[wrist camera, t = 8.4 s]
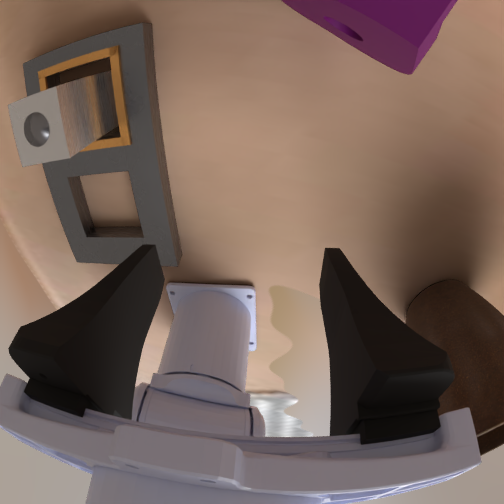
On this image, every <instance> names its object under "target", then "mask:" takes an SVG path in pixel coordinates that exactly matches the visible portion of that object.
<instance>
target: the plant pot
mask: <svg viewBox="0 0 504 504" xmlns="http://www.w3.org/2000/svg"><path fill="white" fill-rule="evenodd" d="M406 325H407V326H408V327H410V328H411V329H412V330H414V331H415V332H416V333H418V334H419V335H421V336H422V337H423V338H425V339H426V340H428V341H429V342H431V343H433V344H434V345H436V346H438V347H439V348H441V349H443V350H444V351H446V352H447V354H448V356H449V358H450V361H451V364H452V367H453V371H454V374H455V377H454V380H453V382H452V383H451V385H450V386H449V387H448V388H447V390H446V391H445V392H444V393H443V394H442V395H441V396H440V397H439V402H440V408H439V409H437V411H438V416H440V415H442V414H444V413H447V412H451V411H455V410H459V409H463V408H467V407H468V408H470V412H471V416H472V420H473V424H474V428H475V432H476V437H477V441H478V446H479V451H480V456H481V455H483V454H485V453H487V452H489V451H492V450H493V449H495V448H497V447H499V446H501V445H503V444H504V316H503V315H502V314H501V313H500V312H499V311H498V310H497V309H496V308H495V307H494V306H493V305H491V304H490V303H489V302H488V301H487V300H485V299H484V298H483V297H482V296H480V295H479V294H478V293H476V292H475V291H474V290H472V289H471V288H469V287H468V286H466V285H465V284H463V283H462V282H460V281H457V280H446V281H442V282H439V283H436V284H434V285H432V286H430V287H428V288H427V289H425V290H424V291H423V292H421V293H420V294H419V295H418V296H417V297H416V298H415V299H414V300H413V302H412V303H411V304H410V306H409V308H408V311H407V315H406Z"/></svg>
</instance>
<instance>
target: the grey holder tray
mask: <svg viewBox="0 0 504 504" xmlns="http://www.w3.org/2000/svg"><path fill="white" fill-rule="evenodd" d="M107 58H110V63H111V73H112V81H113V89H114V97H115V104H116V111H117V117H118V124H119V130H120V132H113V133H107V134H104V135H103V136H101V137H100V138H98V139H97V140H95V141H94V142H92V143H91V144H89V145H88V146H87V147H85V148H84V149H82V150H81V151H79V152H78V153H77V154H75V155H74V156H73V157H71V158H68V159H62V160H56V161H51V162H46V163H42V164H43V168H44V171H45V175H46V178H47V182H48V185H49V188H50V191H51V194H52V197H53V200H54V203H55V206H56V209H57V212H58V215H59V218H60V221H61V223H62V226H63V229H64V231H65V234H66V237H67V239H68V242H69V244H70V247H71V249H72V252H73V254H74V256H75V259H76V261H77V262H83V263H103V264H121V263H122V262H123V261H124V260H125V259H126V258H127V257H129V256H130V255H131V254H132V253H133V252H134V251H135V250H137V249H138V248H139V247H140V246H142V245H143V244H151V245H156V249H157V252H158V256H159V260H160V264H161V266H177V267H178V265H179V262H180V259H181V257H182V251H181V246H180V241H179V236H178V230H177V225H176V219H175V214H174V208H173V202H172V196H171V190H170V184H169V178H168V171H167V165H166V158H165V151H164V144H163V136H162V129H161V120H160V112H159V103H158V94H157V84H156V74H155V62H154V50H153V35H152V24H149V23H139V24H135V25H130V26H126V27H122V28H119V29H115V30H111V31H108V32H104V33H101V34H98V35H95V36H91V37H88V38H85V39H82V40H79V41H77V42H74V43H71V44H68V45H66V46H63V47H60V48H58V49H55V50H53V51H50V52H48V53H46V54H43V55H41V56H39V57H36V58H34V59H32V60H30V61H28V62H26V63H24V64H23V69H24V77H25V84H26V91H27V97H28V96H30V95H33V94H35V93H38V92H41V91H43V90H46V89H49V88H52V87H55V86H58V85H60V80H59V73H60V72H63V71H66V70H69V69H72V68H75V67H79V66H82V65H85V64H89V63H92V62H96V61H99V60H103V59H107ZM122 171H129V175H130V180H131V184H132V189H133V194H134V198H135V202H136V207H137V211H138V215H139V219H140V223H141V227H94V225H93V222H92V219H91V215H90V212H89V209H88V206H87V202H86V199H85V196H84V192H83V189H82V185H81V182H80V178H79V176H83V175H91V174H101V173H111V172H122Z"/></svg>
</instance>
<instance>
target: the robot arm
mask: <svg viewBox="0 0 504 504" xmlns="http://www.w3.org/2000/svg"><path fill="white" fill-rule="evenodd" d="M164 280H165V279H164V275H163V272H162V268H161V264H160V260H159V256H158V252H157V249H156V245H151V244H143V245H142V246H140V247H139V248H138V249H137V250H135V251H134V252H133V253H132V254H131V255H130V256H129V257H127V258H126V259H125V260H124V261H123V262H122V263H121V264H120V265H118V266H117V267H116V268H115V269H114V270H113V271H112V272H111V273H109V274H108V275H107V276H106V277H104V278H103V279H102V280H101V281H100V282H98V283H97V284H96V285H95V286H93V287H92V288H91V289H90V290H88V291H87V292H85V293H84V294H83V295H81V296H80V297H78V298H77V299H75V300H74V301H72V302H70V303H69V304H67V305H65V306H64V307H62V308H60V309H59V310H57V311H55V312H53V313H51V314H49V315H47V316H45V317H43V318H41V319H39V320H36V321H34V322H32V323H29V324H27V325H24V326H21V327H20V329H19V330H18V332H17V334H16V336H15V337H14V339H13V341H12V343H11V345H10V347H9V354H10V356H11V357H12V359H13V360H14V361H15V362H16V364H17V365H18V366H19V367H20V368H21V369H22V370H23V371H24V372H25V374H26V375H27V376H28V377H29V378H30V379H29V381H28V383H26V382H25V381H23V380H21V379H19V378H17V377H14V376H12V375H9V374H6V375H5V377H4V379H3V382H2V384H1V386H0V427H1V428H2V429H3V430H5V431H6V432H8V433H9V434H11V435H12V436H13V437H15V438H17V439H18V440H19V441H21V442H23V443H25V444H27V445H29V446H31V447H33V448H35V449H37V450H39V451H41V452H43V453H45V454H47V455H49V456H51V457H53V458H55V459H57V460H60V461H62V462H64V463H66V464H68V465H71V466H73V467H75V468H78V469H80V470H83V471H85V472H88V473H90V474H92V478H91V483H90V487H89V491H88V495H87V500H86V504H347V503H354V502H361V501H366V500H372V499H377V498H382V497H387V496H392V495H396V494H400V493H404V492H409V491H412V490H416V489H420V488H424V487H427V486H431V485H434V484H437V483H440V482H444V481H447V480H449V479H452V478H454V477H456V476H458V475H460V474H462V473H464V472H466V471H468V470H470V469H472V468H474V467H476V466H478V465H479V464H481V456H480V451H479V446H478V441H477V437H476V432H475V428H474V424H473V420H472V416H471V412H470V408H468V407H467V408H463V409H459V410H455V411H451V412H447V413H444V414H442V415H440V416H438V411H437V409H439V408H440V402H439V397H440V396H441V395H442V394H443V393H444V392H445V391H446V390H447V388H448V387H449V386H450V385H451V383H452V382H453V380H454V377H455V374H454V371H453V367H452V364H451V361H450V358H449V356H448V354H447V352H446V351H444V350H443V349H441V348H439V347H438V346H436V345H434V344H433V343H431V342H429V341H428V340H426V339H425V338H423V337H422V336H421V335H419V334H418V333H416V332H415V331H414V330H412V329H411V328H410V327H408V326H407V325H406V324H405V323H404V322H402V321H401V320H400V319H399V318H398V317H397V316H395V315H394V314H393V313H392V312H391V311H390V310H389V309H388V308H387V307H386V306H385V305H384V304H383V303H382V302H381V301H380V300H379V299H378V298H377V297H376V295H375V294H374V293H373V292H372V291H371V290H370V288H369V287H368V286H367V285H366V284H365V282H364V281H363V280H362V278H361V277H360V276H359V275H358V273H357V272H356V271H355V269H354V268H353V266H352V265H351V264H350V262H349V261H348V259H347V258H346V257H345V255H344V254H343V252H342V251H341V250H340V248H325V252H324V259H323V265H322V272H321V278H320V284H319V286H320V302H321V310H322V315H323V321H324V326H325V332H326V337H327V343H328V349H329V358H330V382H331V420H330V436H323V437H265V422H264V418H263V416H262V415H261V413H260V412H259V410H258V408H257V407H254V406H250V394H248V393H245V386H246V375H247V364H248V353H249V351H255V350H256V348H257V340H256V292H255V288H254V287H253V286H242V285H213V284H190V283H168V284H167V286H166V289H167V293H168V296H169V300H170V303H171V306H172V310H173V313H174V319H173V322H172V325H171V328H170V332H169V335H168V338H167V342H166V345H165V349H164V352H163V356H162V359H161V363H160V366H159V370H158V373H153V376H152V380H151V383H150V384H147V383H141V384H140V385H138V386H137V387H135V383H136V377H137V372H138V366H139V362H140V357H141V353H142V348H143V345H144V342H145V338H146V336H147V333H148V330H149V328H150V325H151V322H152V320H153V317H154V314H155V312H156V309H157V306H158V304H159V301H160V298H161V294H162V289H163V285H164ZM172 291H173V292H172ZM249 295H251V296H249Z"/></svg>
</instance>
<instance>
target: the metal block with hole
mask: <svg viewBox="0 0 504 504" xmlns="http://www.w3.org/2000/svg"><path fill="white" fill-rule="evenodd" d="M8 109H9V114H10V119H11V124H12V129H13V133H14V137H15V141H16V145H17V149H18V153H19V157H20V160H21V164H22V167H26V166H30V165H35V164H40V163H46V162H51V161H56V160H62V159H68V158H71V157H73V156H74V155H75V154H77V153H78V152H79V151H81V150H82V149H84V148H85V147H87V146H88V145H89V144H91V143H92V142H94V141H95V140H97V139H98V138H100V137H101V136H103V135H104V134H106V133H107V132H109V131H111V130H112V129H114V128H115V127H117V126H119V124H118V117H117V111H116V104H115V97H114V89H113V81H112V73H111V71H107V72H103V73H99V74H95V75H91V76H87V77H84V78H80V79H77V80H73V81H70V82H67V83H64V84H61V85H58V86H55V87H52V88H49V89H46V90H43V91H41V92H38V93H35V94H33V95H30V96H28V97H25V98H23V99H20V100H18V101H16V102H13V103H11V104H9V105H8Z"/></svg>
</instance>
